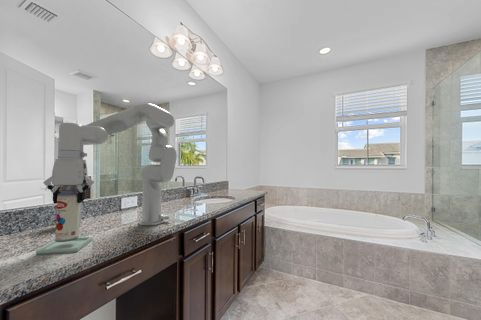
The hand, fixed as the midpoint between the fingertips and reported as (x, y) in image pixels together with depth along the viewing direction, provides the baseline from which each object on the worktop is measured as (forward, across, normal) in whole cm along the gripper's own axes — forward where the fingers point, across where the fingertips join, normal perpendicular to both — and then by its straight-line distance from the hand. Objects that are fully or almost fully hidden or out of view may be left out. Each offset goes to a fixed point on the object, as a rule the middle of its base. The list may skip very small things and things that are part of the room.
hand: (68, 202), depth 79 cm
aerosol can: (+14, 0, 0) cm, 14 cm away
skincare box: (+17, +13, -30) cm, 37 cm away
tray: (+17, 0, 0) cm, 17 cm away
